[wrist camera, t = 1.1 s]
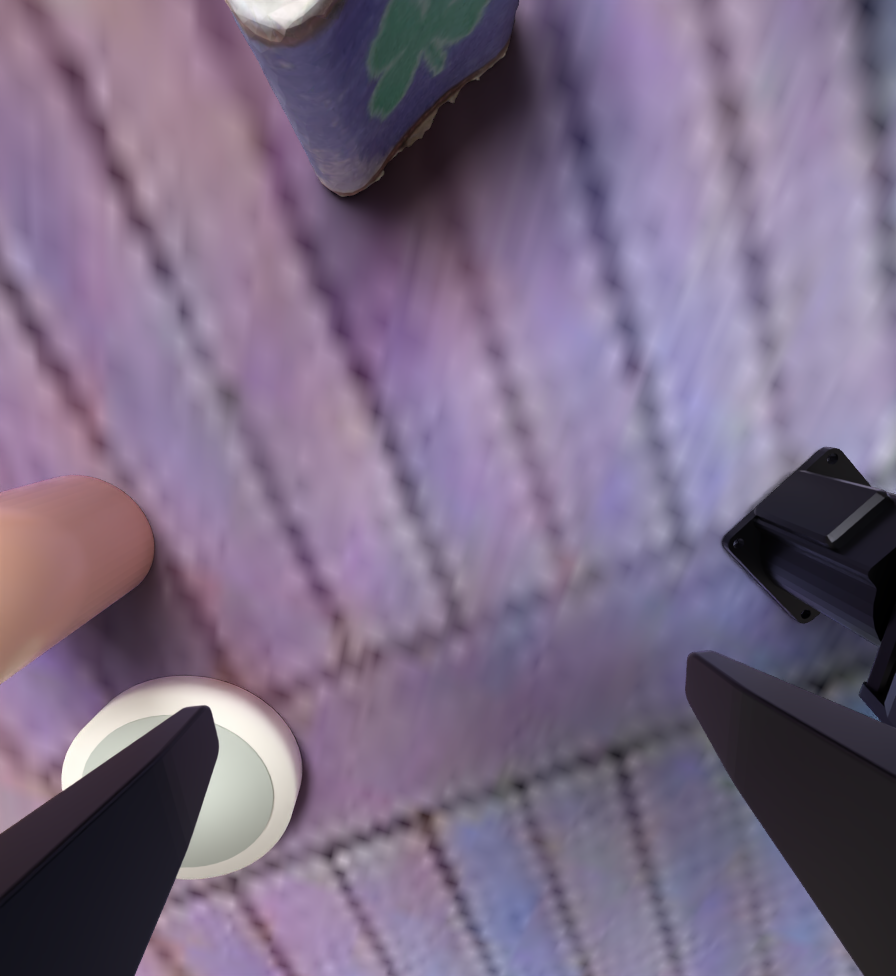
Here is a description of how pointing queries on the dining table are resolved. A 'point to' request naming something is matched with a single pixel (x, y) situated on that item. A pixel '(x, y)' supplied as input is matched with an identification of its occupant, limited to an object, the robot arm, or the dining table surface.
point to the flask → (369, 71)
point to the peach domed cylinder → (64, 561)
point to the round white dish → (237, 773)
